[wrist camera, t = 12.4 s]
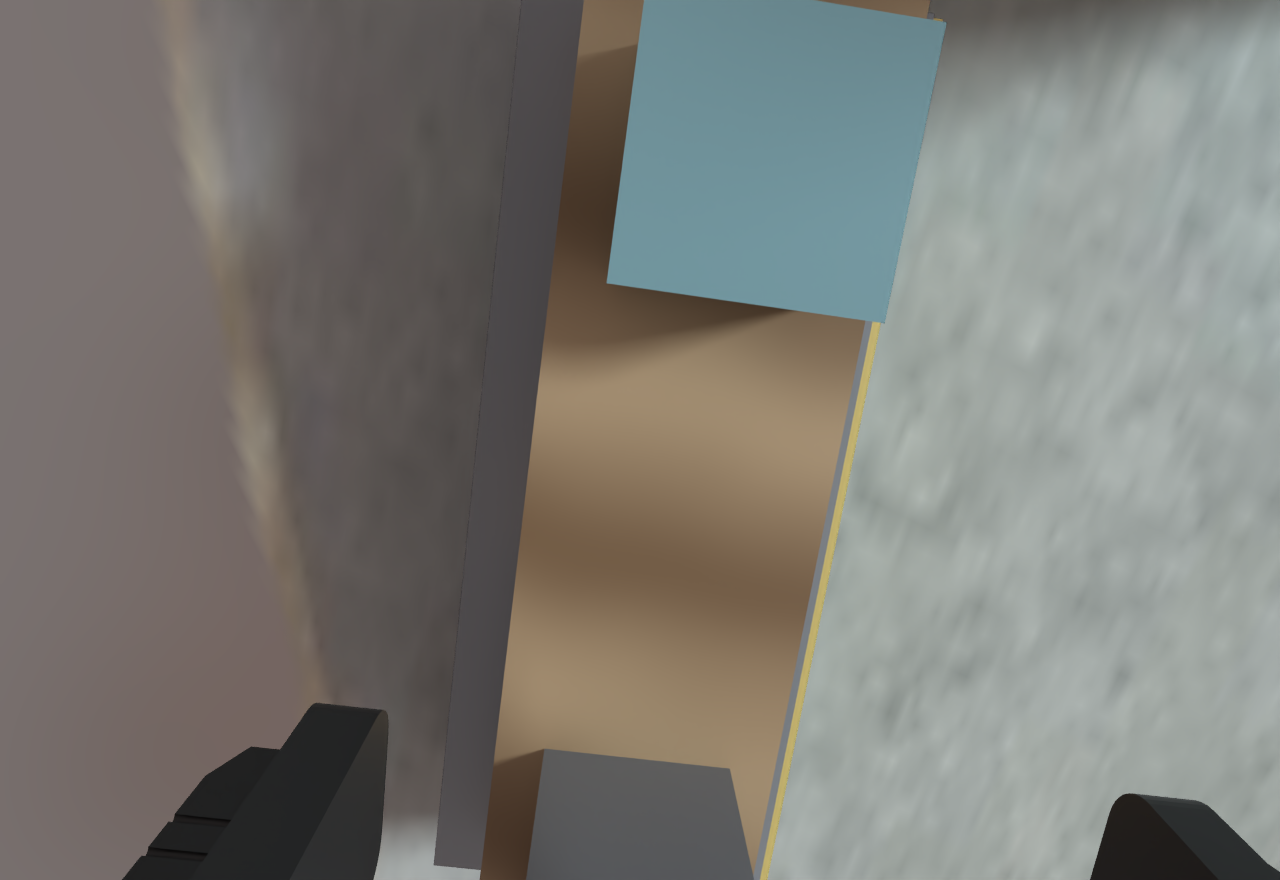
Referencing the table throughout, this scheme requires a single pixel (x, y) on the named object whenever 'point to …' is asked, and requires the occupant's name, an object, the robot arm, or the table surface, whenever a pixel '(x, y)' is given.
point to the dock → (508, 438)
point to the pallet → (660, 497)
